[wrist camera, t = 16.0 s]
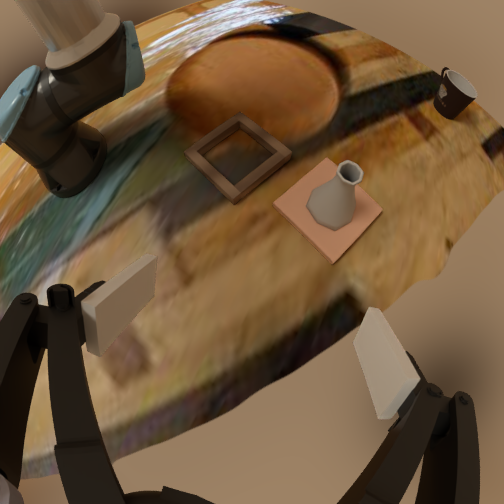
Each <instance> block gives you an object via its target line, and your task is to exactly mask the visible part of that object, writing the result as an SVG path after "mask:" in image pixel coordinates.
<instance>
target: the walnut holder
mask: <svg viewBox="0 0 504 504" xmlns="http://www.w3.org/2000/svg"><path fill="white" fill-rule="evenodd" d="M239 128H241V129H242V130H243V131H245V132H246V133H247V134H249V135H250V136H251V137H252V138H254V139H255V140H256V141H257V142H259V143H260V144H261V145H262V146H263V147H265V148H266V149H267V150H268V151H269V152H271V153H272V154H273V156H271V157H270V158H269V159H267V160H266V161H265V162H264V163H262V164H261V165H260V166H258V167H257V168H256V169H255V170H253V171H252V172H251V173H250V174H248V175H247V176H246V177H245V178H243V179H242V180H241V181H240V182H238V183H237V184H236V185H235V186H233V185H232V184H231V183H230V182H229V181H228V180H227V179H226V178H225V177H224V176H223V175H221V174H220V173H219V172H218V171H217V170H216V169H215V168H214V167H213V166H212V165H211V164H210V163H209V162H208V161H206V160H205V159H204V158H203V157H202V155H203V154H205V153H206V152H207V151H209V150H210V149H211V148H213V147H214V146H215V145H217V144H218V143H220V142H221V141H222V140H224V139H225V138H226V137H228V136H229V135H231V134H232V133H233V132H235V131H236V130H238V129H239ZM184 154H185V156H186V159H187V160H189V161H190V162H191V163H192V164H193V165H194V166H195V167H196V168H197V169H198V170H199V171H200V172H201V173H202V174H203V175H204V176H205V177H206V178H207V179H208V180H209V181H210V182H211V183H212V184H213V185H214V186H215V187H216V188H217V189H218V190H219V191H220V192H221V193H222V194H223V195H224V196H225V197H226V198H227V199H228V200H229V201H230V202H231V203H232V204H233V205H235V204H236V203H237V202H238V201H240V200H241V199H242V198H243V197H244V196H246V195H247V194H248V193H249V192H250V191H252V190H253V189H254V188H255V187H257V186H258V185H259V184H260V183H261V182H263V181H264V180H265V179H266V178H268V177H269V176H270V175H271V174H272V173H274V172H275V171H276V170H277V169H279V168H280V167H281V166H282V165H284V164H285V163H286V162H287V161H289V160H290V159H291V155H292V152H291V151H290V150H289V149H288V148H287V147H285V146H284V145H283V144H282V143H280V142H279V141H278V140H277V139H275V138H274V137H273V136H272V135H270V134H269V133H268V132H266V131H265V130H264V129H263V128H261V127H260V126H259V125H257V124H256V123H255V122H253V121H252V120H251V119H249V118H248V117H247V116H245V115H244V114H243V113H241V112H239V113H237V114H236V115H234V116H233V117H231V118H230V119H228V120H227V121H225V122H224V123H223V124H221V125H220V126H218V127H217V128H215V129H214V130H212V131H211V132H210V133H208V134H207V135H206V136H204V137H203V138H201V139H200V140H199V141H197V142H196V143H195V144H193V145H192V146H191V147H189V148H188V149H187V150H185V151H184Z"/></svg>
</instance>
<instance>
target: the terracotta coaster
mask: <svg viewBox="0 0 504 504" xmlns="http://www.w3.org/2000/svg"><path fill="white" fill-rule="evenodd" d="M337 169H338V166H336V165H335V164H334V163H333V162H332V161H331V160H329V159H328V158H327V157H326V158H325V159H324V160H323V161H322V162H320V163H319V164H318V165H317V166H316V167H314V168H313V169H312V170H311V171H310V172H308V173H307V174H306V175H305V176H304V177H303V178H301V179H300V180H299V181H298V182H297V183H295V184H294V185H293V186H292V187H291V188H290V189H288V190H287V191H286V192H285V193H284V194H283V195H281V196H280V197H279V198H278V199H277V200H276V201H274V202H273V207H274V208H275V209H276V210H277V211H278V212H279V213H280V214H281V215H282V216H283V217H285V218H286V219H287V220H288V221H289V222H290V223H291V224H292V225H293V226H294V227H295V228H296V229H297V230H298V231H299V232H300V233H301V234H302V235H303V236H304V237H305V238H306V239H307V240H308V241H309V242H310V243H311V244H312V245H313V246H314V247H315V248H316V249H317V250H318V251H319V252H320V253H321V254H322V255H323V256H324V257H325V258H326V259H327V260H328V261H329V262H330V263H331V264H333V263H334V262H335V261H336V260H337V259H338V258H339V257H340V256H341V255H342V254H343V253H344V252H345V251H346V250H347V249H348V247H349V246H350V245H351V244H352V243H353V242H354V241H355V240H356V239H357V238H358V237H359V236H360V235H361V233H362V232H363V231H364V230H365V229H366V228H367V227H368V226H369V225H370V224H371V222H372V221H373V220H374V219H375V218H376V217H377V216H378V215H379V213H380V212H381V211H382V210H383V209H382V208H381V207H380V206H379V205H378V204H377V203H376V202H375V201H374V200H373V199H372V198H371V197H370V196H369V195H368V194H367V193H366V192H365V191H364V190H363V189H362V188H361V187H360V186H359V185H357V184H356V186H355V200H356V207H355V210H354V213H353V216H352V219H351V222H350V223H348V224H346V225H344V226H343V227H341V228H339V229H337V230H336V231H334V230H332V229H330V228H327V227H325V226H323V225H321V224H318V223H316V221H315V220H314V218H313V216H312V215H311V213H310V212H309V210H308V209H307V207H306V204H307V202H308V199H309V197H310V195H311V192H312V190H313V189H315V188H317V187H319V186H321V185H323V184H325V183H326V182H328V181H330V180H331V179H333V178H334V177H335V176H336V172H337Z"/></svg>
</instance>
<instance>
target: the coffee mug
mask: <svg viewBox="0 0 504 504" xmlns="http://www.w3.org/2000/svg"><path fill="white" fill-rule="evenodd" d="M445 70H447V72H446V74H445V76H444V79H443V74H444V71H445ZM441 81H442V84H441V86H440V88H439V90H438V93H437V95H436V97H435V99H434V102H433V104H434V107H435V108H436V110H437V111H438V112H439V113H440V114H441V115H442V116H444V117H445V118H447V119H450V120H452V119H454V118H455V117H456V116H457V115H458V114H459V113H460V112H462V111H463V110H464V109H465V108H466V107H467V106H468V105H469V104H470V103H471V102H472V101H473V100H474V99H475V98H476V97H477V92H476V90H475V88H474V87H473V85H472V84H471V83H470V82H469V81H468V80H467V79H466V78H465V77H463V76H462V75H461V74H459V73H458V72H456V71H453V70H450V69H449V68H447V67H445V68H443V70H442V73H441Z"/></svg>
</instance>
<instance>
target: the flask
mask: <svg viewBox="0 0 504 504" xmlns="http://www.w3.org/2000/svg"><path fill="white" fill-rule="evenodd" d="M363 174H364V172H363V171H362V169H361V168H360V167H359V165H358V164H356V163H354V162H352V161H349V160H346V161H344V162H342V163H340V164H339V166H338V169H337V172H336V176H335V177H334V178H333V179H331V180H330V181H328V182H326V183H325V184H323V185H321V186H319V187H317V188H315V189H313V190H312V192H311V195H310V197H309V199H308V202H307V204H306V207H307V209H308V210H309V212H310V213H311V215H312V216H313V218H314V220H315V221H316V223H318V224H321V225H323V226H325V227H327V228H330V229H332V230H334V231H336V230H337V229H339V228H341V227H343V226H344V225H346V224H348V223H350V222H351V219H352V216H353V213H354V210H355V207H356V200H355V186H356V184H358V183H360V182H361V181H362V177H363Z"/></svg>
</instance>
